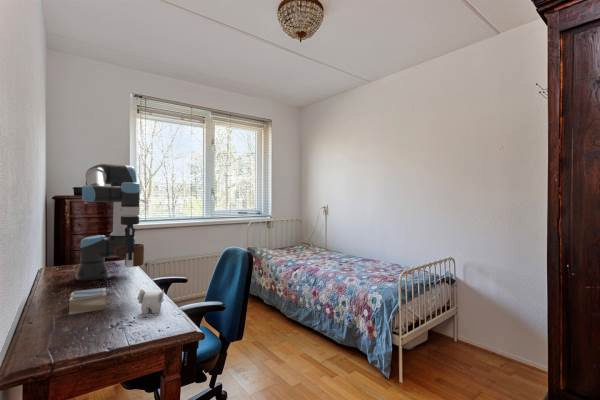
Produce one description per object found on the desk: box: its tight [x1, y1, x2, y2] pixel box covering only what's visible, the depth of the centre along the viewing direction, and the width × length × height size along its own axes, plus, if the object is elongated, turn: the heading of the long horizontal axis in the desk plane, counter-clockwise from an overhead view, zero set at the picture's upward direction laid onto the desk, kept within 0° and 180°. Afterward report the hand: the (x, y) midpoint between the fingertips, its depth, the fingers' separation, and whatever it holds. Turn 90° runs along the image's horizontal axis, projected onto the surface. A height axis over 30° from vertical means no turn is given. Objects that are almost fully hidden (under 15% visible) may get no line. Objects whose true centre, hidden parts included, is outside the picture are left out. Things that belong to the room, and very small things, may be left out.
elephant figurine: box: [136, 288, 165, 315], centre depth 124 cm, size 10×12×9 cm
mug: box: [114, 243, 145, 268], centre depth 141 cm, size 12×8×9 cm, turn 119°
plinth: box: [68, 287, 107, 315], centre depth 126 cm, size 12×12×6 cm
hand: (129, 265), depth 141 cm, fingers closed on mug, 7 cm apart
